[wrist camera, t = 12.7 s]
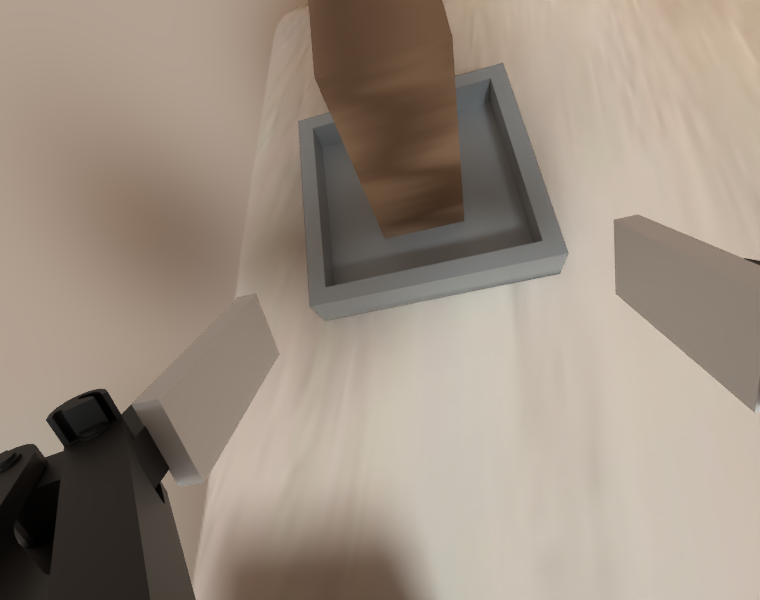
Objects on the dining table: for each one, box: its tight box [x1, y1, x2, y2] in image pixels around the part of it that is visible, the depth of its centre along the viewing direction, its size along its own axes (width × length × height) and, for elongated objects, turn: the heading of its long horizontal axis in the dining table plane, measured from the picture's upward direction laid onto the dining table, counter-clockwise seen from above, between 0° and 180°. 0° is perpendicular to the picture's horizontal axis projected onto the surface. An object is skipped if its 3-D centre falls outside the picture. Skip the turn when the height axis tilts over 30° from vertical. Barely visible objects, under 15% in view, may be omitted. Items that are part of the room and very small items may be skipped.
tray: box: [298, 63, 568, 320], centre depth 26 cm, size 14×14×2 cm
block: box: [309, 0, 464, 239], centre depth 21 cm, size 5×5×12 cm
